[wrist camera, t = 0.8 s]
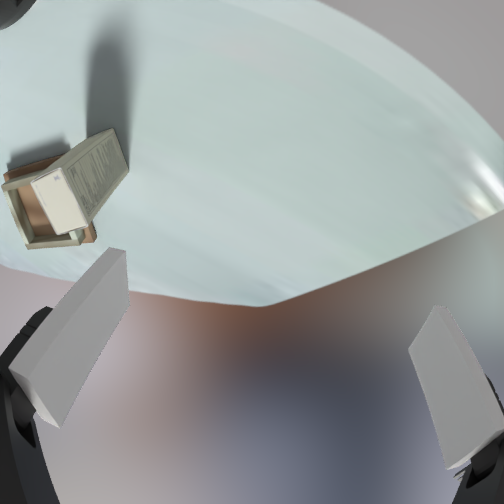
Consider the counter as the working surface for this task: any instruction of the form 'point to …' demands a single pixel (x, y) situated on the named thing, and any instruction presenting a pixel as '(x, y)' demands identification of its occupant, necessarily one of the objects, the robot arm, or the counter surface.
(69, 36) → the counter surface
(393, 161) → the counter surface
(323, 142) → the counter surface
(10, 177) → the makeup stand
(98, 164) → the skincare box
